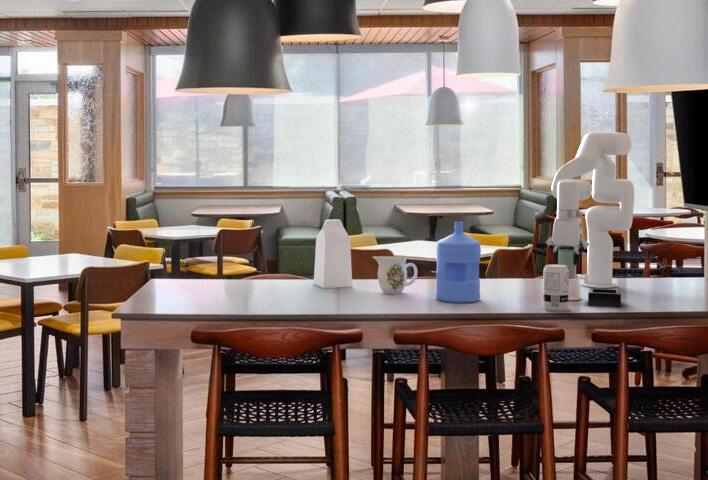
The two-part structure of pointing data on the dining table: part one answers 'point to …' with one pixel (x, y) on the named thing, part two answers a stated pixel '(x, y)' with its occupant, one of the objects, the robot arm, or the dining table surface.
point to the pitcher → (393, 273)
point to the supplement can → (555, 287)
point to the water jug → (458, 267)
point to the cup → (567, 261)
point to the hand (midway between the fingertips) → (566, 263)
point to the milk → (333, 256)
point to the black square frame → (604, 297)
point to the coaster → (573, 298)
